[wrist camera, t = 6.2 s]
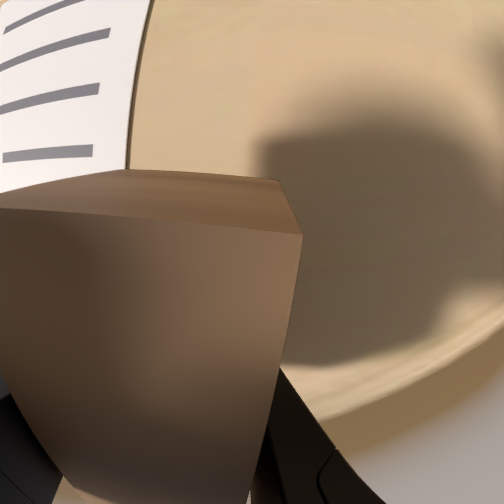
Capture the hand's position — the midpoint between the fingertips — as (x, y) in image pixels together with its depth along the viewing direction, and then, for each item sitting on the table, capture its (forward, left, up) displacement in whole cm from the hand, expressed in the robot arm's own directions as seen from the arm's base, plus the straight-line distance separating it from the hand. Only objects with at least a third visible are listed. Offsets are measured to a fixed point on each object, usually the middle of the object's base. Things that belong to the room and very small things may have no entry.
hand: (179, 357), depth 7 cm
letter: (+8, +9, -4) cm, 13 cm away
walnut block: (0, 0, -1) cm, 1 cm away
